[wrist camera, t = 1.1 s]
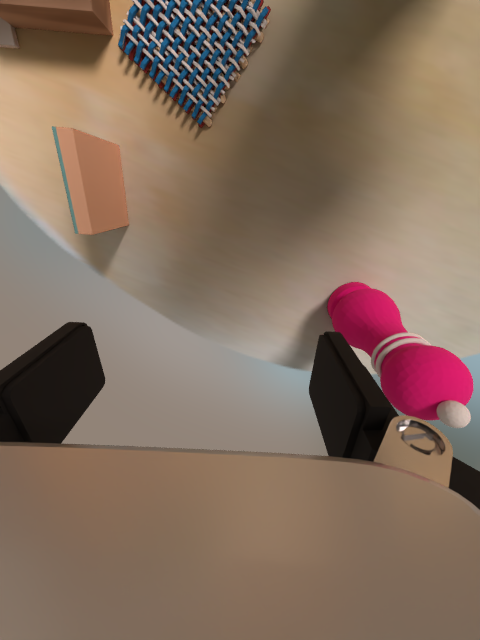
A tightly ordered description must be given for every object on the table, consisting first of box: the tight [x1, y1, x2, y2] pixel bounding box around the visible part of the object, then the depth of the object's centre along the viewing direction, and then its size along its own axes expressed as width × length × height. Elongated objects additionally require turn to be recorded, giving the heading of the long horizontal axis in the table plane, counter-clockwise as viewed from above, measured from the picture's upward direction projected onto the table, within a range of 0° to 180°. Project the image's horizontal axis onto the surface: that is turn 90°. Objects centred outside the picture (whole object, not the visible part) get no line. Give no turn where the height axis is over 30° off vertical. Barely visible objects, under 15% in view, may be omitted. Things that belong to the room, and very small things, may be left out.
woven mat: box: [118, 0, 271, 128], centre depth 22 cm, size 10×11×2 cm
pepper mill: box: [327, 282, 473, 428], centre depth 25 cm, size 7×7×20 cm
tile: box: [52, 127, 129, 235], centre depth 25 cm, size 8×2×8 cm, turn 176°
